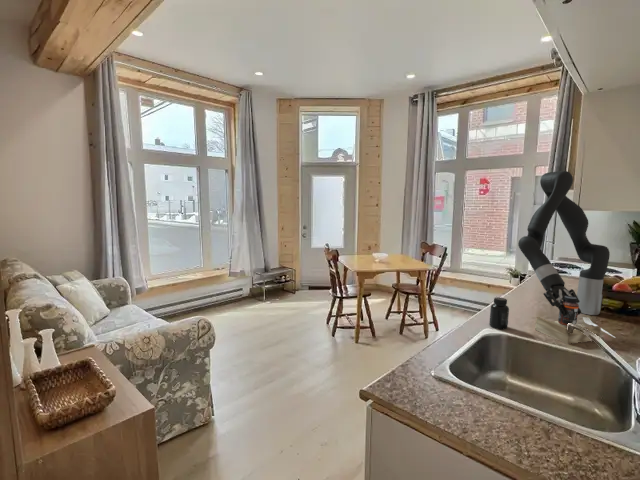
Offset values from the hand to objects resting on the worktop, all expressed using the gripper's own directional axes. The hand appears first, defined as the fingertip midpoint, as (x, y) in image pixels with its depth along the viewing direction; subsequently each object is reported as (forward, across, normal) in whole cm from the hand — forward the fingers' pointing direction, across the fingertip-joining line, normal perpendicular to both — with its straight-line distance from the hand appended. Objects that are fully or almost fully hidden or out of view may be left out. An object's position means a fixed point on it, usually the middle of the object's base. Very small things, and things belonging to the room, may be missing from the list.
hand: (572, 314), depth 137 cm
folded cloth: (+5, 0, +8) cm, 9 cm away
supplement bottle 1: (-4, -21, +17) cm, 27 cm away
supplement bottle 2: (+2, 0, +5) cm, 5 cm away
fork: (+4, +22, +10) cm, 24 cm away
